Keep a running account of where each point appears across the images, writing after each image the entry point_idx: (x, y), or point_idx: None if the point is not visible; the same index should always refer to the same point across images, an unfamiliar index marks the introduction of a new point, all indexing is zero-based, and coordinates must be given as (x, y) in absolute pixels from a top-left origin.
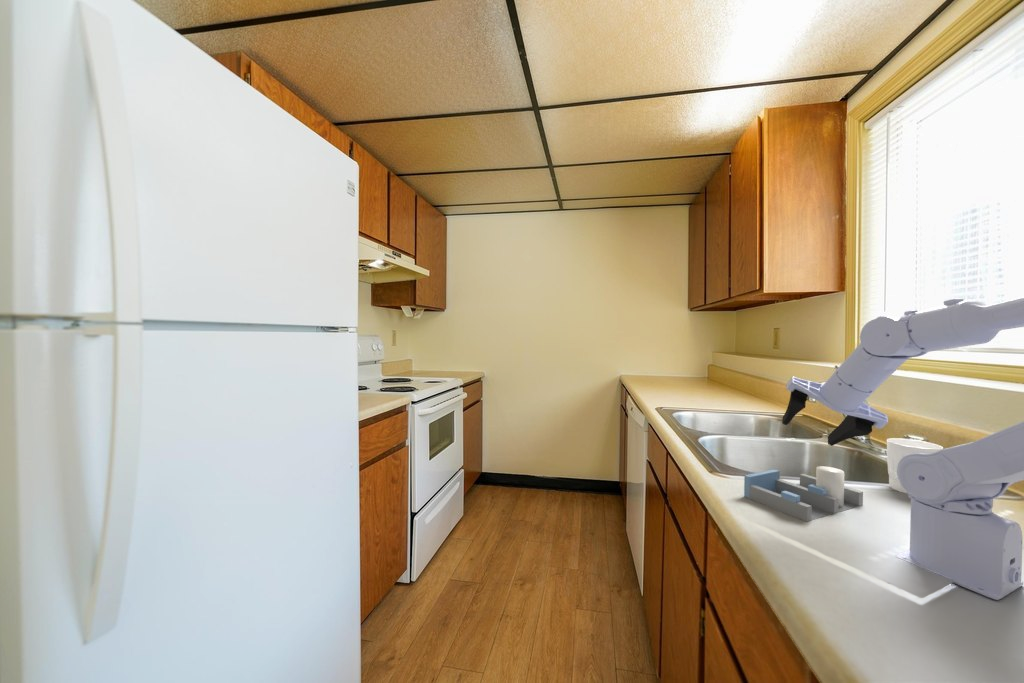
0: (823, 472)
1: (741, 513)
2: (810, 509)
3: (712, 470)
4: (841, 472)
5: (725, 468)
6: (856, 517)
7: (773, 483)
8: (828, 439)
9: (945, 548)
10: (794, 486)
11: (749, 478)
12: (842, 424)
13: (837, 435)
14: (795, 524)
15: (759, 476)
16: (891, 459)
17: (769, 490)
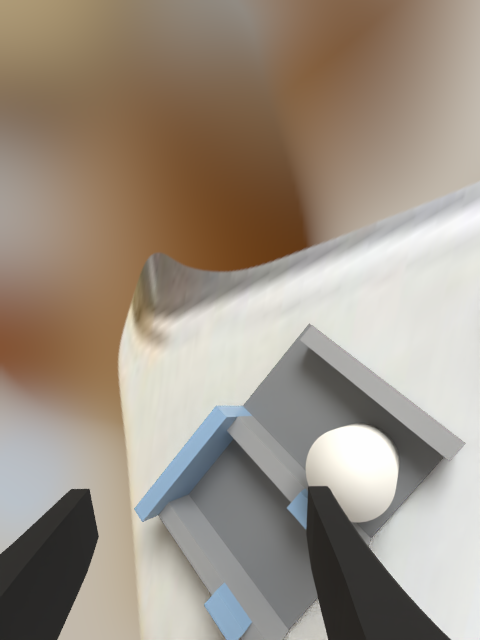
0: None
1: (158, 594)
2: None
3: (142, 303)
4: (383, 494)
5: (169, 270)
6: (421, 529)
7: (224, 437)
8: (307, 515)
9: None
10: (264, 471)
11: (144, 520)
12: (349, 625)
13: (327, 612)
14: None
15: (170, 489)
16: None
17: (196, 540)
